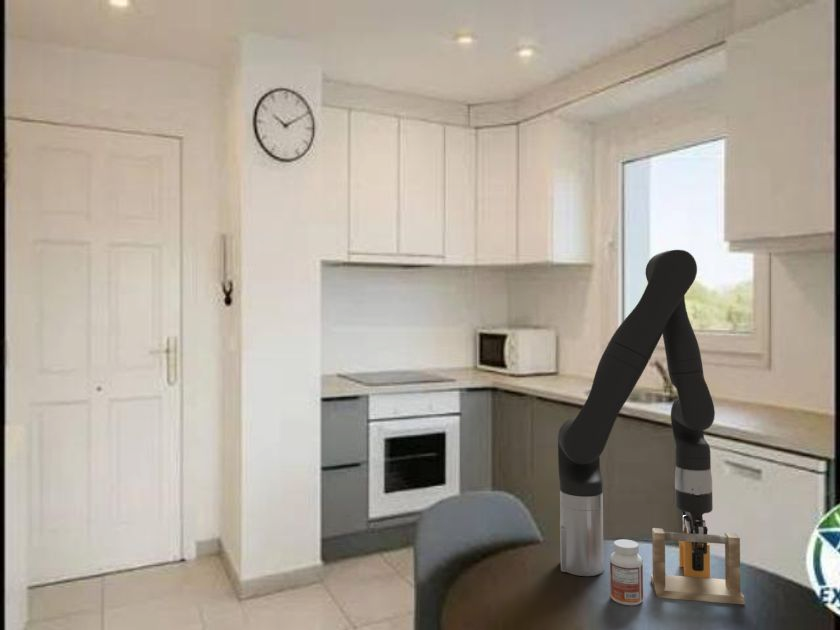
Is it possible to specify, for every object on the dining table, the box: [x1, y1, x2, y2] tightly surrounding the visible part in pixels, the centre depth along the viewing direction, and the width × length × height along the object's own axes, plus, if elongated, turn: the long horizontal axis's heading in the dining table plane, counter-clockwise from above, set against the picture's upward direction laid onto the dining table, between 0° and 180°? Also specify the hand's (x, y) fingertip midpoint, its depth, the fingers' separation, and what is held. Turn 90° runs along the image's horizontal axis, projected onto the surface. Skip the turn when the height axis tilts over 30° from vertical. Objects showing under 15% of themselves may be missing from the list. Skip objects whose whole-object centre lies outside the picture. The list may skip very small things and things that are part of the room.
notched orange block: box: [678, 541, 711, 578], centre depth 137 cm, size 5×6×7 cm
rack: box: [650, 527, 745, 605], centre depth 126 cm, size 16×8×12 cm, turn 78°
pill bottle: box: [609, 539, 644, 606], centre depth 123 cm, size 6×6×11 cm
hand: (694, 564), depth 136 cm, fingers closed on notched orange block, 6 cm apart
